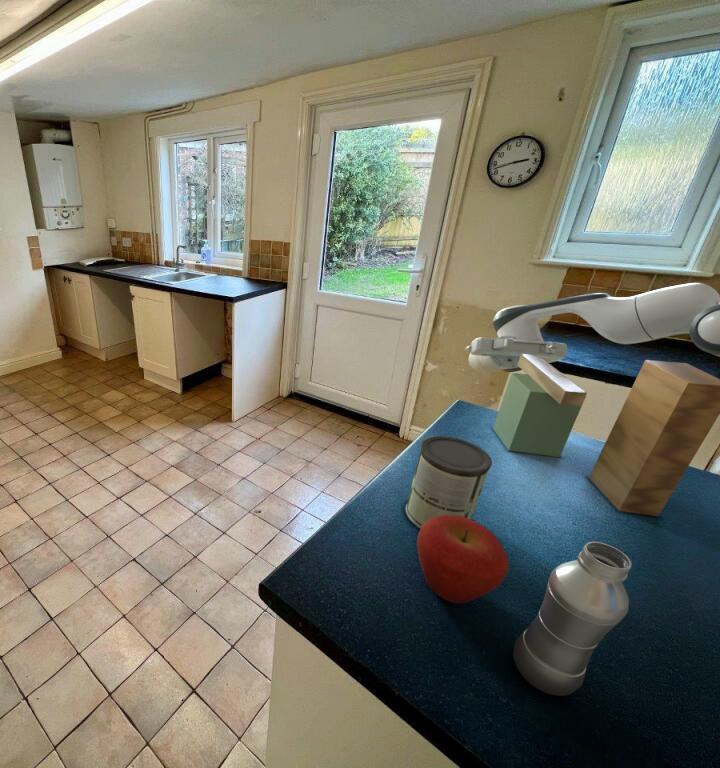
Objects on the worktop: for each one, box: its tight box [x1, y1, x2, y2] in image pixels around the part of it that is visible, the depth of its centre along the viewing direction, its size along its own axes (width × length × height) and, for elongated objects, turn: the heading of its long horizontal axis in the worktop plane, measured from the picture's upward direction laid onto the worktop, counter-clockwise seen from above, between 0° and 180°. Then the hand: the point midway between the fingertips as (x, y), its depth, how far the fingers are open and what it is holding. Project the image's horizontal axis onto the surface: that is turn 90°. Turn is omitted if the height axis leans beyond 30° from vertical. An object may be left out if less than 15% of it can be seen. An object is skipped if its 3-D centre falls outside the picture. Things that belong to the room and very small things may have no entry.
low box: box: [492, 372, 587, 458], centre depth 94 cm, size 10×10×15 cm
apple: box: [416, 515, 510, 604], centre depth 58 cm, size 11×11×12 cm
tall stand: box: [588, 359, 720, 517], centre depth 74 cm, size 6×10×26 cm, turn 166°
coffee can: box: [405, 435, 493, 530], centre depth 72 cm, size 10×10×14 cm
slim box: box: [517, 354, 588, 407], centre depth 90 cm, size 4×21×3 cm, turn 166°
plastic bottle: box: [512, 541, 632, 697], centre depth 46 cm, size 6×7×20 cm
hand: (532, 343), depth 99 cm, fingers open, 8 cm apart
